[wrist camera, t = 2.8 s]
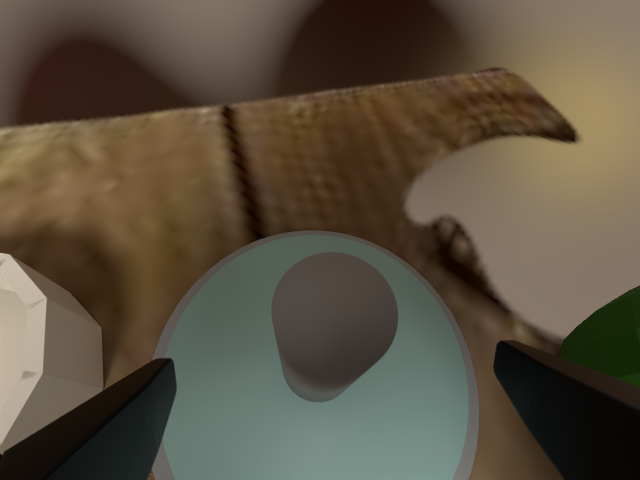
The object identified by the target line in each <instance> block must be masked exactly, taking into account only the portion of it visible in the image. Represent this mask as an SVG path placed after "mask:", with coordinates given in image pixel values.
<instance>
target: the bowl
mask: <svg viewBox="0 0 640 480" xmlns="http://www.w3.org/2000/svg"><path fill="white" fill-rule="evenodd" d="M103 388H104V386H103V356H102V328H101V327H100V326H99V324H98V323H97V322H96V321H95V320H94V319H93V318H92V317H91V316H90V314H89V313H88V312H87V311H86V310H85V309H84V308H83V307H82V305H81V304H80V303H79V302H78V301H77V300H76V299H75V298H74V296H73V295H72V294H71V293H70V292H69V291H67V290H65V289H64V288H62V287H61V286H59V285H57V284H56V283H54V282H53V281H51V280H49V279H48V278H46V277H45V276H43V275H41V274H40V273H38V272H37V271H35V270H33V269H32V268H30V267H29V266H27V265H26V264H24V263H22V262H21V261H19V260H18V259H16V258H14V257H13V256H11V255H9V254H4V253H0V454H2V455H3V453H4V451H5V450H7V449H9V448H10V447H12V446H13V445H15V444H17V443H18V442H20V441H22V440H23V439H25V438H27V437H28V436H30V435H31V434H33V433H35V432H36V431H38V430H40V429H41V428H43V427H45V426H46V425H48V424H49V423H51V422H53V421H54V420H56V419H58V418H59V417H61V416H63V415H64V414H66V413H67V412H69V411H71V410H72V409H74V408H76V407H77V406H79V405H80V404H82V403H84V402H85V401H87V400H89V399H90V398H92V397H94V396H95V395H97V394H98V393H100V392H102V390H103Z"/></svg>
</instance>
